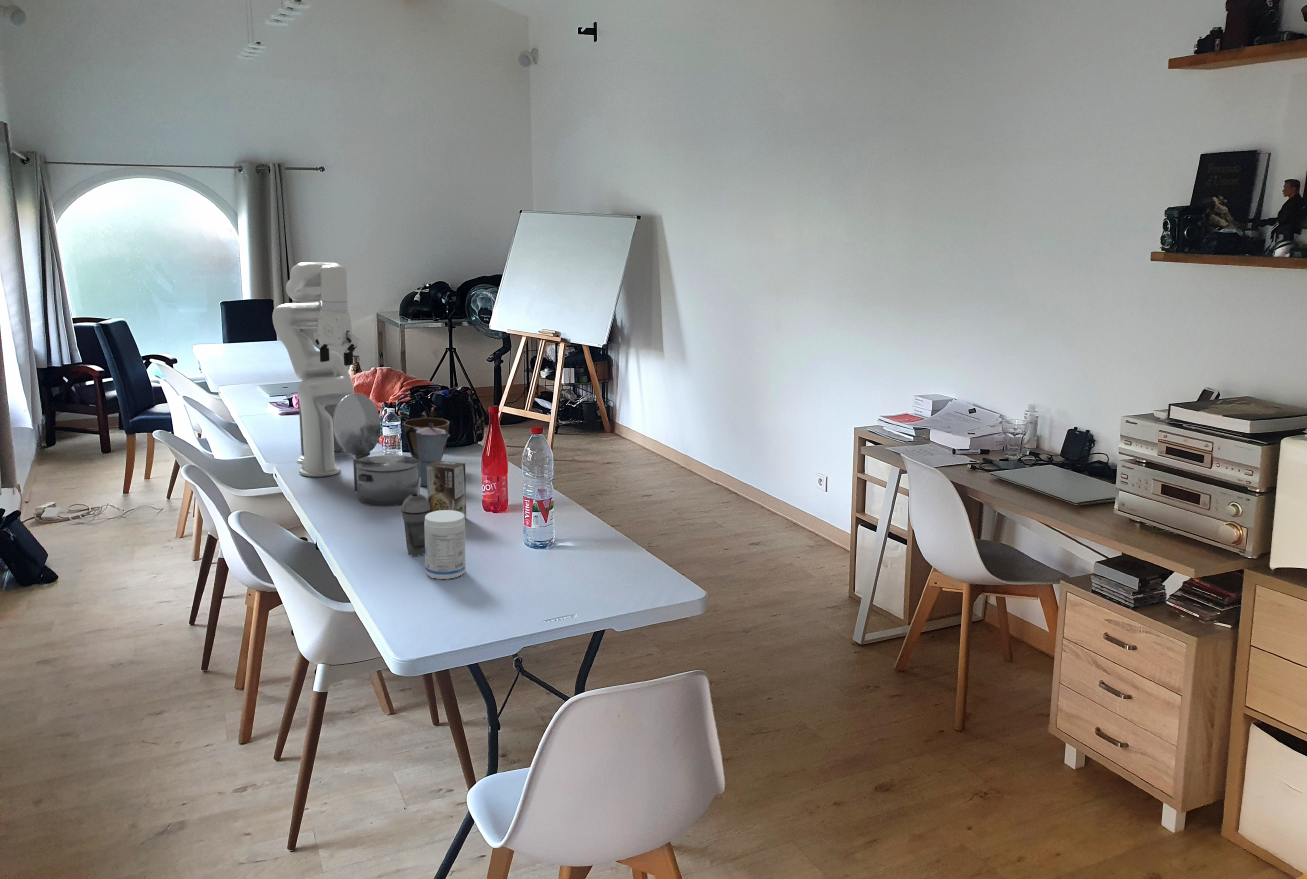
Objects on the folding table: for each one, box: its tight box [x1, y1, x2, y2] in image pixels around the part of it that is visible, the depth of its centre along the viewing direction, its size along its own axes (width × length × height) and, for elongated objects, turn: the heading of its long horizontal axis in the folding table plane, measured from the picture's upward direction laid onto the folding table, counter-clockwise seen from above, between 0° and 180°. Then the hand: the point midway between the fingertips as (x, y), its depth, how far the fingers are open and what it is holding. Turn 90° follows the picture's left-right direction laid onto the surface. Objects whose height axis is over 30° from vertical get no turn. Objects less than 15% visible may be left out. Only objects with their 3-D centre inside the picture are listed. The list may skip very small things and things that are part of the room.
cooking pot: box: [352, 454, 419, 507], centre depth 290 cm, size 20×22×11 cm
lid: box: [333, 393, 382, 459], centre depth 291 cm, size 20×19×3 cm
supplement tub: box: [424, 510, 466, 580], centre depth 229 cm, size 10×10×15 cm
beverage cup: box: [400, 477, 431, 557], centre depth 242 cm, size 7×7×20 cm
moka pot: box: [405, 423, 450, 487], centre depth 305 cm, size 10×15×20 cm, turn 78°
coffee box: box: [426, 460, 467, 519], centre depth 270 cm, size 9×6×16 cm
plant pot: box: [403, 417, 450, 461], centre depth 324 cm, size 15×15×16 cm
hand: (336, 363), depth 291 cm, fingers open, 9 cm apart
